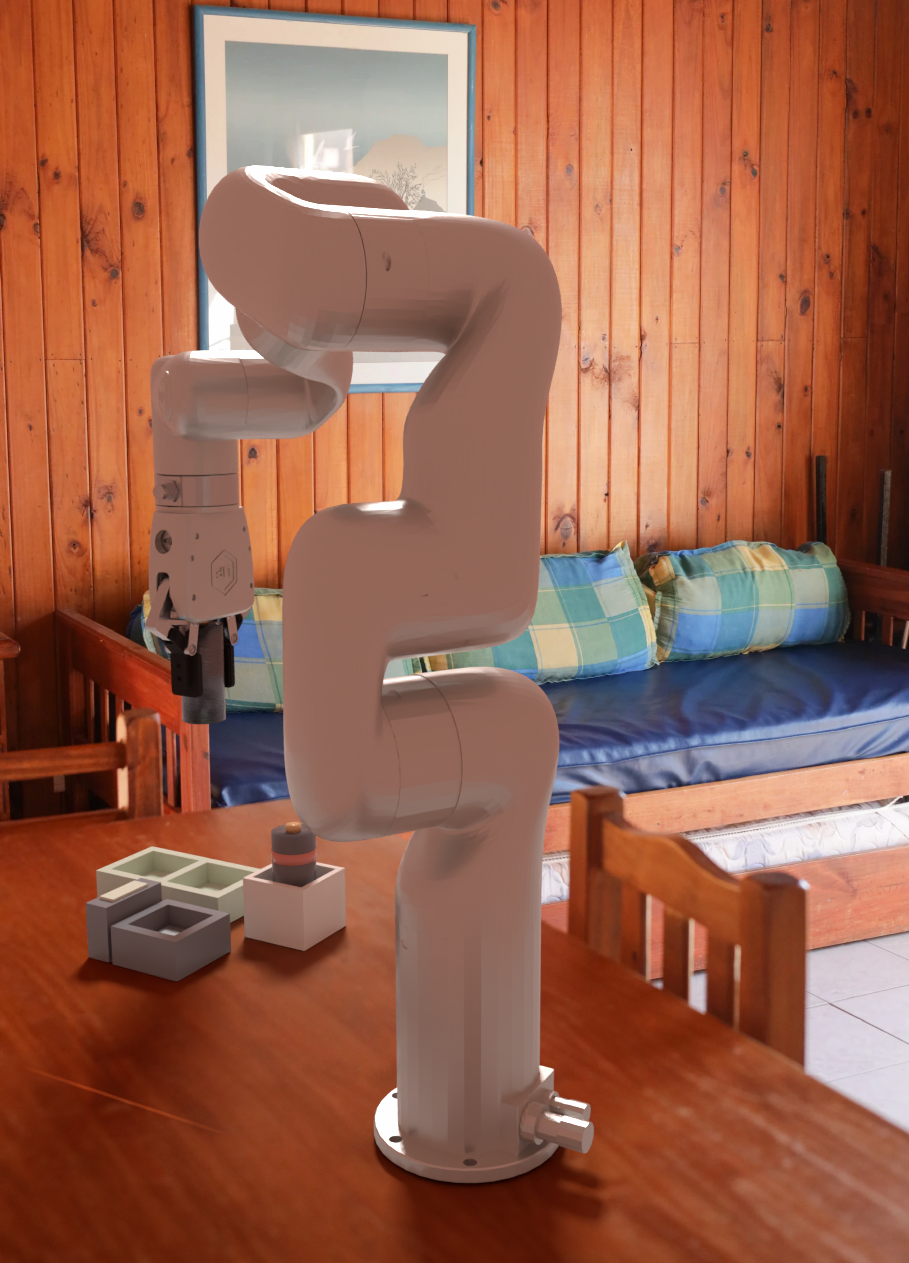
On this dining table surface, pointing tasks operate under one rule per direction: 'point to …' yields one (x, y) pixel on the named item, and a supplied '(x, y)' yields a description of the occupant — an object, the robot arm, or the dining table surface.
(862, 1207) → the dining table surface
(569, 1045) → the dining table surface
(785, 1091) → the dining table surface
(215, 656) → the cell
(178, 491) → the robot arm
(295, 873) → the cup
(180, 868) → the tray
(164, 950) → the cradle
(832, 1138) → the dining table surface
